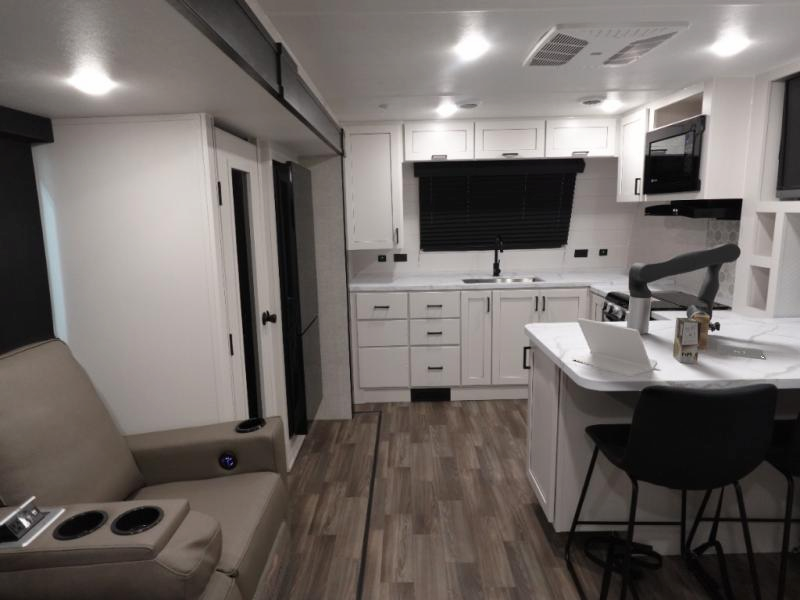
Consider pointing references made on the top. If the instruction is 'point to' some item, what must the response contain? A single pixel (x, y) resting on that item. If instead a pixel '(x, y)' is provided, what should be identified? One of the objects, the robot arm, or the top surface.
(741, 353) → the tile
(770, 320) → the top surface
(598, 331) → the white laptop
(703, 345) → the brown wooden block
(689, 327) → the coffee box
